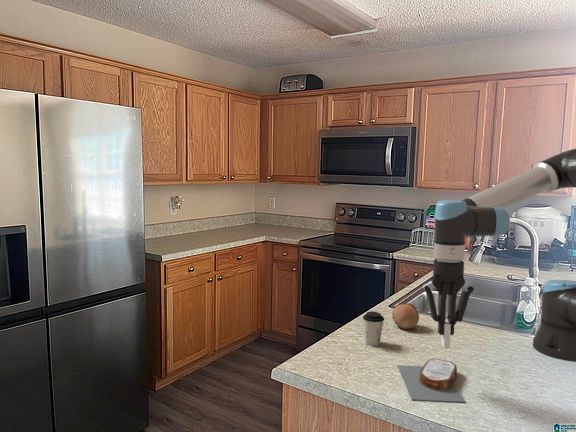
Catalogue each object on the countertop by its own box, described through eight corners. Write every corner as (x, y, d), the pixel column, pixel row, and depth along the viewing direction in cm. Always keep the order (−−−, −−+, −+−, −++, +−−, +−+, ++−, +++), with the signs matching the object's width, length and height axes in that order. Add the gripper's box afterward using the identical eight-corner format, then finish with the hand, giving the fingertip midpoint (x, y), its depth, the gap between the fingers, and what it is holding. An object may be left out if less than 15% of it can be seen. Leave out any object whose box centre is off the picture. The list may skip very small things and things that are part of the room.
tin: (459, 370, 123) (429, 365, 127) (459, 360, 123) (428, 355, 127) (448, 393, 110) (415, 387, 114) (448, 381, 110) (415, 375, 114)
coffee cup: (386, 346, 140) (387, 317, 139) (366, 348, 139) (367, 317, 138) (378, 338, 147) (379, 310, 145) (359, 339, 145) (360, 311, 144)
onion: (410, 333, 160) (420, 308, 162) (415, 335, 151) (426, 309, 152) (386, 322, 162) (396, 297, 163) (390, 323, 153) (400, 297, 154)
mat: (442, 368, 125) (442, 367, 125) (465, 402, 106) (465, 401, 106) (397, 366, 126) (397, 365, 126) (412, 400, 107) (412, 399, 107)
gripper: (427, 262, 109) (424, 351, 112) (479, 262, 108) (475, 352, 111) (419, 256, 116) (417, 340, 119) (469, 256, 116) (465, 341, 118)
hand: (445, 346), depth 115 cm, fingers closed
